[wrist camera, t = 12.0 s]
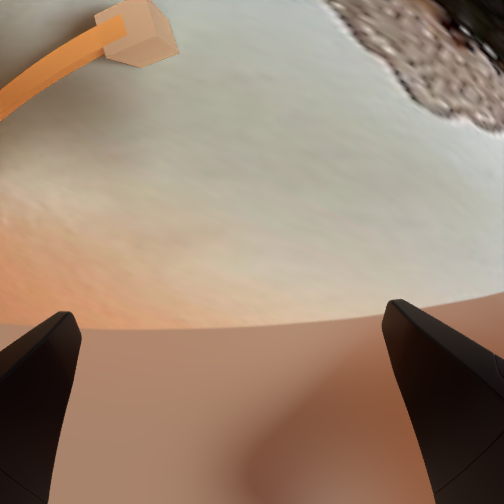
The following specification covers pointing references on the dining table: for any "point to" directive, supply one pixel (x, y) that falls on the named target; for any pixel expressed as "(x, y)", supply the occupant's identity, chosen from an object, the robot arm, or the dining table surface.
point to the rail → (98, 49)
